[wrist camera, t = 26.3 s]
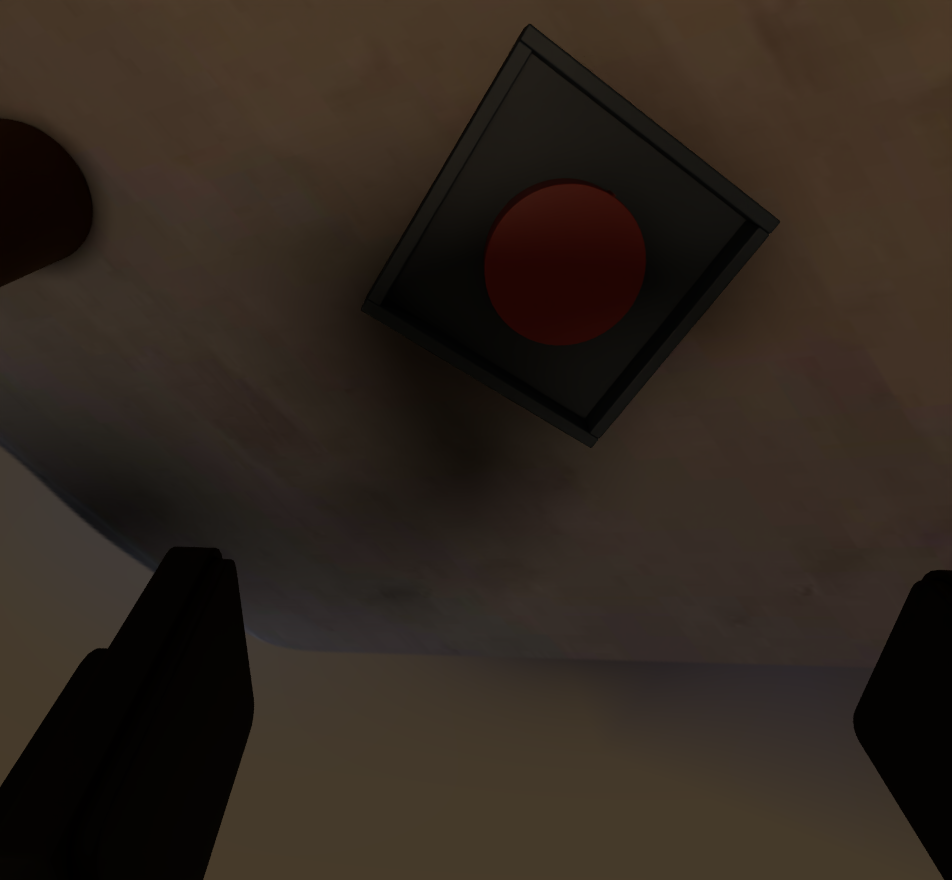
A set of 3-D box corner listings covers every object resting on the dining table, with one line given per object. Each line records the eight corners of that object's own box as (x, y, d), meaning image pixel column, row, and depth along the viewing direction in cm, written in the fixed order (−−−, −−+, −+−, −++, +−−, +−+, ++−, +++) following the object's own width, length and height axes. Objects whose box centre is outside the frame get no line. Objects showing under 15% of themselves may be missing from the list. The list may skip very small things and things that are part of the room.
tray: (584, 429, 33) (591, 449, 31) (366, 296, 30) (359, 310, 28) (761, 213, 28) (781, 222, 27) (524, 26, 25) (529, 22, 23)
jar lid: (543, 142, 26) (548, 145, 25) (670, 234, 28) (681, 243, 27) (454, 282, 29) (453, 292, 28) (575, 359, 31) (580, 373, 29)
